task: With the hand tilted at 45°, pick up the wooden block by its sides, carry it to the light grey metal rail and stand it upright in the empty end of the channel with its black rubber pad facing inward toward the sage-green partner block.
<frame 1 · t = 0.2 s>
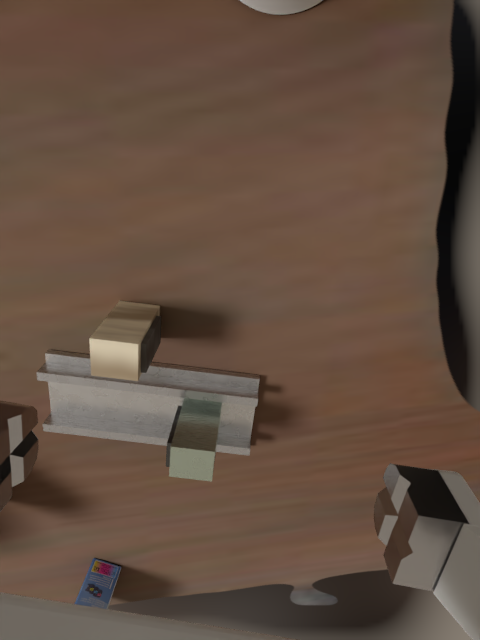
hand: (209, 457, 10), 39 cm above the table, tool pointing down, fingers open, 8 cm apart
wooden block: (139, 319, 52), on the table
ink cartridge box: (102, 576, 75), on the table
rail: (153, 399, 57), on the table
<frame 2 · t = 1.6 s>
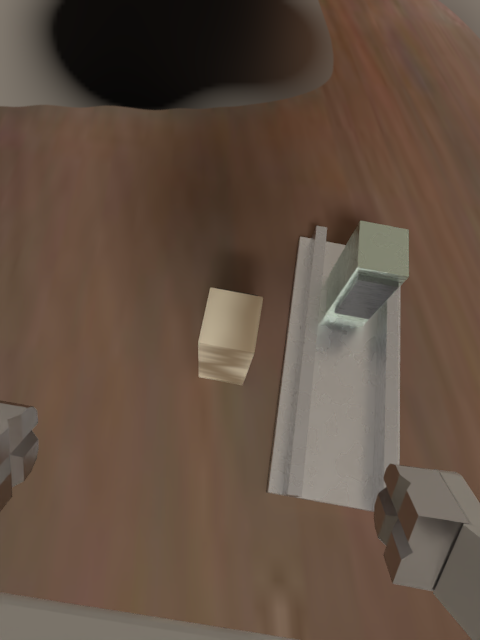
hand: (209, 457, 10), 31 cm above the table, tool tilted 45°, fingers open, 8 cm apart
wooden block: (225, 357, 43), on the table
rail: (340, 360, 44), on the table
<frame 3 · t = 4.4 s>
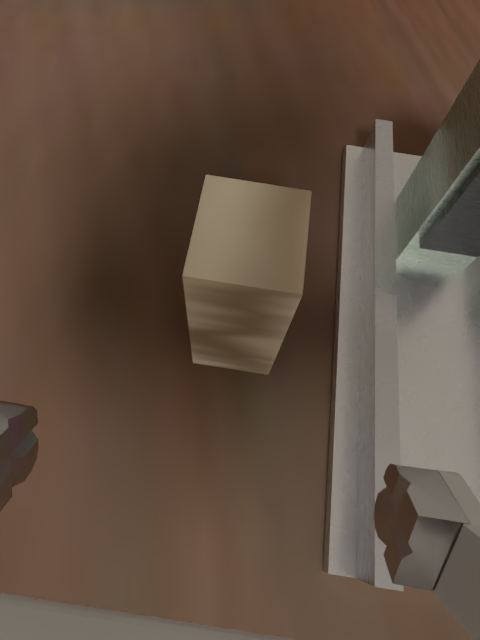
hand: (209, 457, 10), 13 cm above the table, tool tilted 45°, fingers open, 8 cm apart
wooden block: (236, 330, 25), on the table
rail: (428, 330, 26), on the table
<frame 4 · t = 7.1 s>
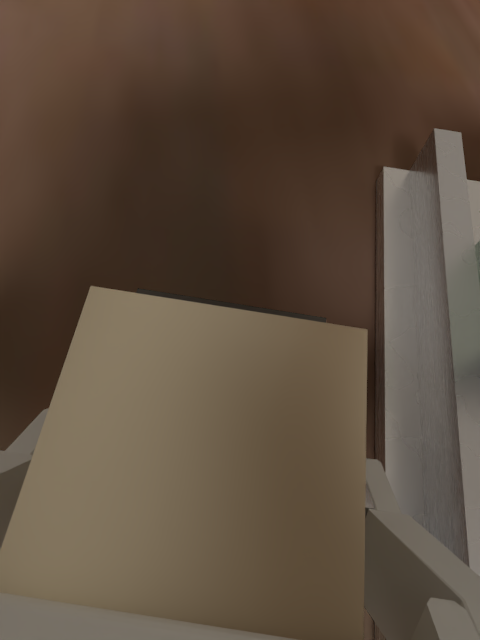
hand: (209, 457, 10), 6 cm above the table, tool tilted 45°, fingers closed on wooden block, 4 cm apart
wooden block: (207, 495, 15), on the table, touching gripper
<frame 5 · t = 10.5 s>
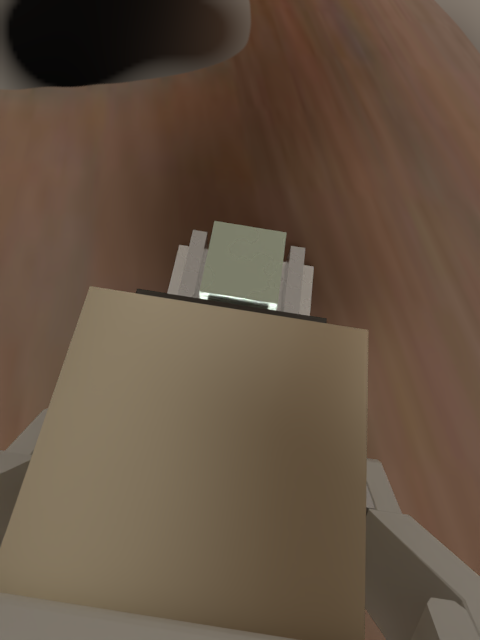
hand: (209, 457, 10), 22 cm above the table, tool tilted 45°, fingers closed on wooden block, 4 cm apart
wooden block: (206, 496, 15), point 16 cm above the table, touching gripper
rail: (220, 415, 32), on the table
when the fingers open (8 cm above the table, at t = 14.0 s): wooden block drops 1 cm, resting on rail.
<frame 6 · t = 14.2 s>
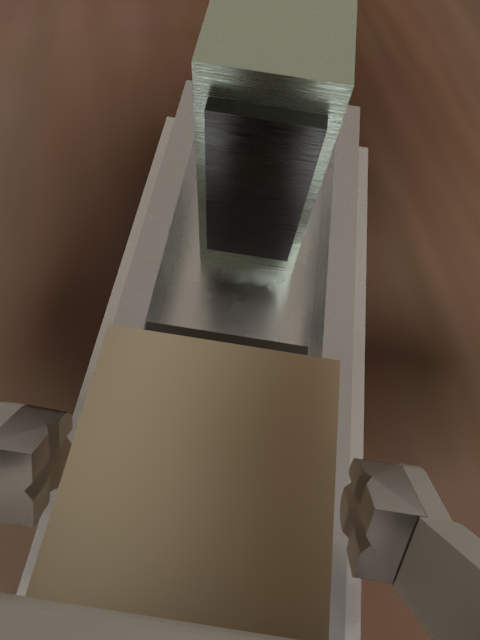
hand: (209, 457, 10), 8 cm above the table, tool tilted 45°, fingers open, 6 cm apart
wooden block: (206, 497, 16), point 1 cm above the table, touching rail
rail: (230, 360, 19), on the table
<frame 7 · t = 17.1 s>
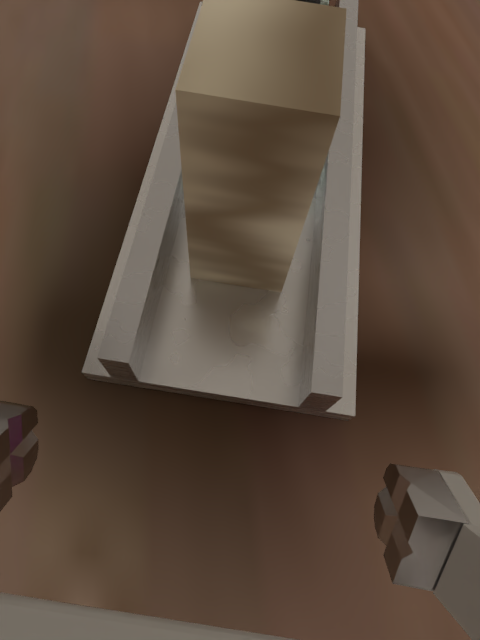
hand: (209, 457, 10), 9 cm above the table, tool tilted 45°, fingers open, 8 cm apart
wooden block: (243, 243, 21), point 1 cm above the table, touching rail
rail: (256, 170, 25), on the table
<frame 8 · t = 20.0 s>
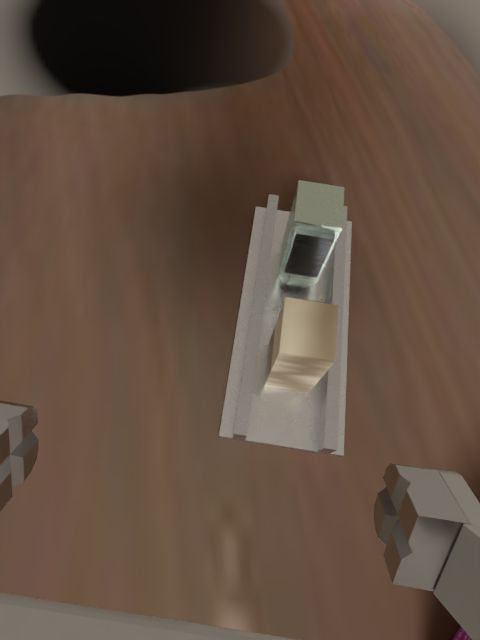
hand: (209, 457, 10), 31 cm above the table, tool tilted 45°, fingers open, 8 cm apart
wooden block: (288, 366, 43), point 1 cm above the table, touching rail
rail: (292, 318, 46), on the table
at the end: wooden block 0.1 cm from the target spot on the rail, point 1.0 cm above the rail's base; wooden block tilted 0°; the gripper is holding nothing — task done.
